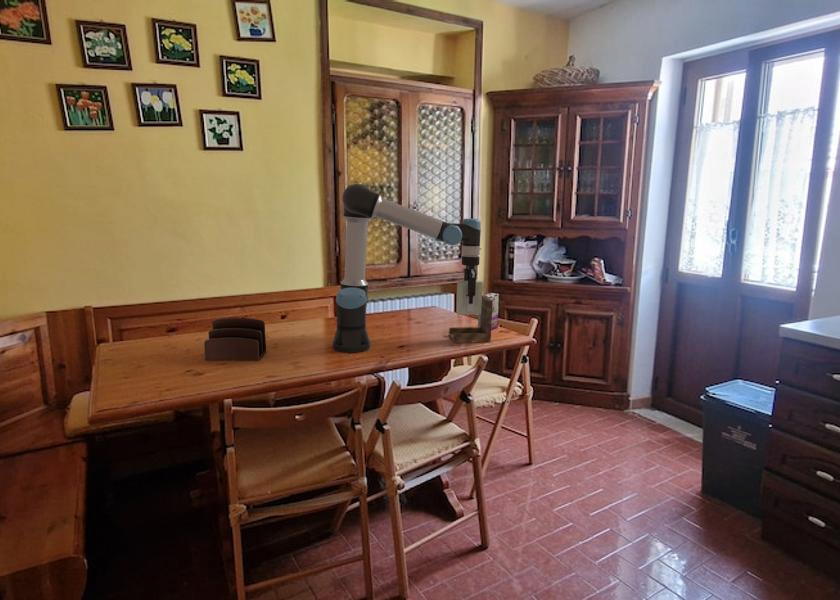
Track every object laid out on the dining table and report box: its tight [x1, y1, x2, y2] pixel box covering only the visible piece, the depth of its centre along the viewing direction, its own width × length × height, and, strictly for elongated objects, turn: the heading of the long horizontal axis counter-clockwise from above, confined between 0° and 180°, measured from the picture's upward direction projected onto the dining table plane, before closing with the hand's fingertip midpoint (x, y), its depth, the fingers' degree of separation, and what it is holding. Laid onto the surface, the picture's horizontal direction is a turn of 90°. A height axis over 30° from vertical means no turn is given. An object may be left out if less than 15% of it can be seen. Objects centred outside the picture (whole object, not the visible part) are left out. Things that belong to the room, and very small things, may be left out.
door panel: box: [456, 280, 483, 316], centre depth 217 cm, size 10×4×14 cm, turn 97°
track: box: [448, 296, 493, 343], centre depth 220 cm, size 16×11×18 cm
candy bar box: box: [477, 292, 500, 331], centre depth 236 cm, size 11×5×16 cm, turn 143°
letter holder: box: [203, 317, 267, 362], centre depth 189 cm, size 10×20×14 cm, turn 91°
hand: (468, 309), depth 219 cm, fingers closed on door panel, 4 cm apart
